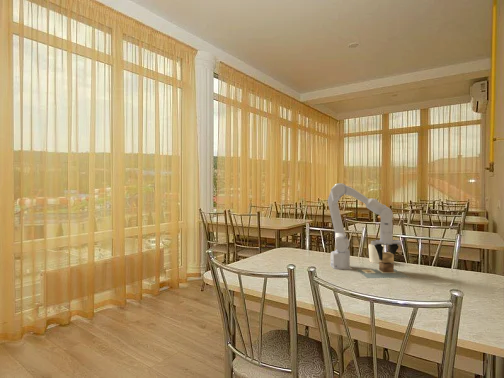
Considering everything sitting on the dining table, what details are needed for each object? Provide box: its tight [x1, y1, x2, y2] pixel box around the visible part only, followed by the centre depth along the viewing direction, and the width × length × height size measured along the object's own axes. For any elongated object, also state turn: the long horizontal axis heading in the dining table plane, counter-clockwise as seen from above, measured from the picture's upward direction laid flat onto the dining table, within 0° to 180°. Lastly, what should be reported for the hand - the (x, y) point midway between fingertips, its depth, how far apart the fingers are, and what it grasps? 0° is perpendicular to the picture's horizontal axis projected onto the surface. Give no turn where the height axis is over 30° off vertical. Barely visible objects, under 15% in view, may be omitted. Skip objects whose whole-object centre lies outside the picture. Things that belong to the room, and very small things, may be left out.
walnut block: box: [378, 262, 395, 272], centre depth 161 cm, size 5×5×4 cm
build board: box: [356, 268, 411, 279], centre depth 157 cm, size 20×15×1 cm
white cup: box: [368, 243, 385, 264], centre depth 180 cm, size 8×8×10 cm
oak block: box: [379, 251, 395, 264], centre depth 160 cm, size 5×5×4 cm
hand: (386, 259), depth 161 cm, fingers closed on oak block, 5 cm apart
